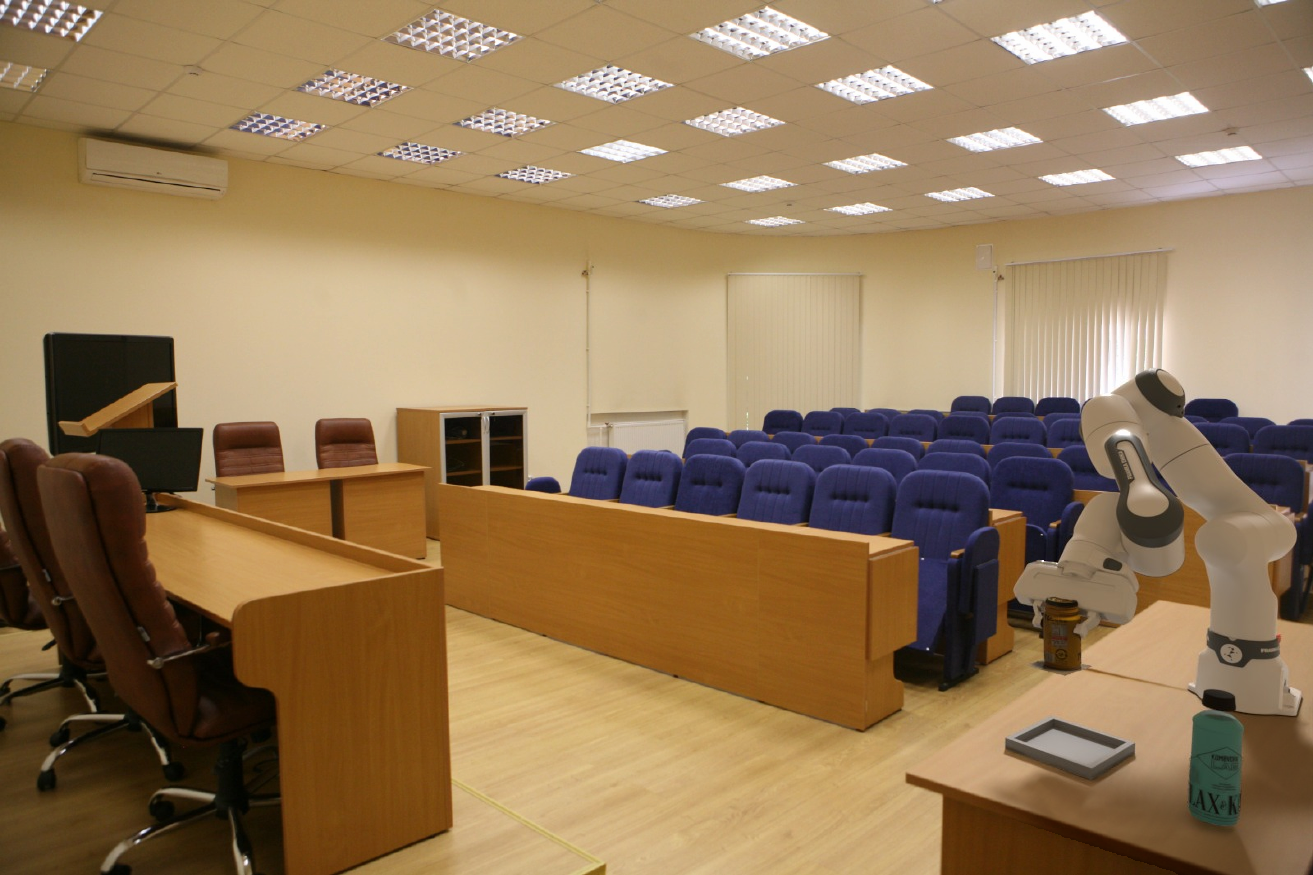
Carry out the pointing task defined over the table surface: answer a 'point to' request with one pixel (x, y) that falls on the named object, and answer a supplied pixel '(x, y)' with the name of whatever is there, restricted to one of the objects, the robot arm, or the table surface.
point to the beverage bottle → (1216, 761)
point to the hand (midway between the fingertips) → (1057, 630)
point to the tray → (1070, 747)
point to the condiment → (1061, 638)
